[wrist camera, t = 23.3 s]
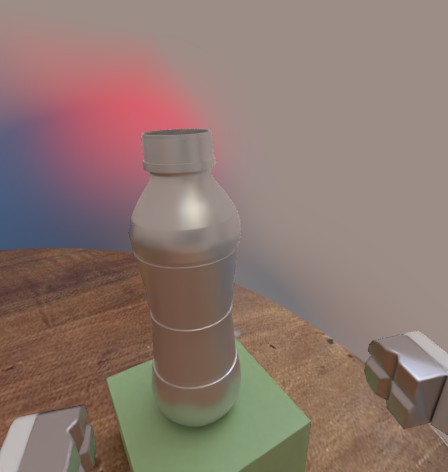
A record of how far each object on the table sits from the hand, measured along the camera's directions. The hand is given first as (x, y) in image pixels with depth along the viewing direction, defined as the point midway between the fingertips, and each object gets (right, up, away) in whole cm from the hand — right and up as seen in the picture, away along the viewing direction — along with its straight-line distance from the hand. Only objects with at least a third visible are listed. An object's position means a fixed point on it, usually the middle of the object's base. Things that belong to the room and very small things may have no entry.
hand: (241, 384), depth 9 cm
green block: (-2, -15, +19) cm, 24 cm away
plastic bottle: (-2, -9, +16) cm, 18 cm away
